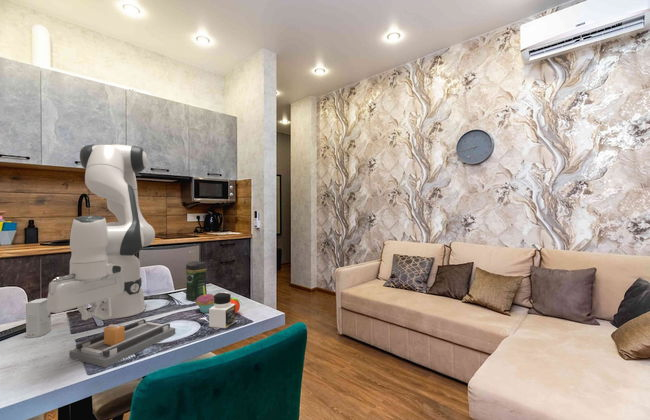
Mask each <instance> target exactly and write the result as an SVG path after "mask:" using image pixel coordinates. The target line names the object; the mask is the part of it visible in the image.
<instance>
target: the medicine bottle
mask: <svg viewBox="0 0 650 420" xmlns="http://www.w3.org/2000/svg"><path fill="white" fill-rule="evenodd" d="M213 295H214V306H213V307H211V308H210V309H209V312H208V317H209V319H208V320H209V321H208V324H209V325H208V327H210V328H216V329H217V328H218V329H227V328H228V327H230V326H231V325H233V324H234V323H235V322H236V314H235V304H230V303H231V298H232V296H231V293H230V292H227V291H221V292H218V293H216V294H213Z"/></svg>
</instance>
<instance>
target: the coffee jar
mask: <svg viewBox="0 0 650 420" xmlns="http://www.w3.org/2000/svg"><path fill="white" fill-rule="evenodd" d="M207 269H208V268H207V263H206V262H204V261H197V260H194V261H193V260H192V261H188V262H186V265H185V272H186V287H185V288H186V290H185V291H186V292H185V297H186V300H188V301H193V302H196V299H197V298H198V297H199V296H201V295H204V292H203V285H204V286H205V294H208V292H207V277H206V276H207V275H206V274H207Z"/></svg>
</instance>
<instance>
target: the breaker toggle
mask: <svg viewBox="0 0 650 420" xmlns="http://www.w3.org/2000/svg"><path fill="white" fill-rule="evenodd" d="M124 326H125V325H124ZM124 326H123V325H117V324H109V325H108V326H106V327H104V328H103V334H104V344H107V345H111V346H113V345H115V344H118V343H120V342H122V341H125V328H124Z"/></svg>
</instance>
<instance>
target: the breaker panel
mask: <svg viewBox="0 0 650 420" xmlns="http://www.w3.org/2000/svg"><path fill="white" fill-rule="evenodd" d="M163 325H164V324H162V323H155V322H151V321H147V322H146V323H144V321H142V322H139V323H138V326H137V327H134V328H131V329H129V330H126V331H125V341H122V342H120V343H118V344H115V345H113V346H111V345H107V344H104V340H101V341H99V342H96V343H94V344H91V345H90V342H87V343H85V344H82V348H81V349H76V348H74V349H72V350H69V356H68V357H69V359H73V360H75V361H80V362H83V363H87V364H90V365H94V366H98V367H102V368H107V367H110V366H112V365H114V364H115V363H116V364H117V363H118V362H119V361H122V360H124V359H126V358H129V357H130V355H131V356H133V355H135V354H137V353H139V352H140V351H143V350H145V349H148V348H149V347H151V346H153V345H155V344H157V343H160V342H161V341H163V340H165V339H167V338H170V337H172V336H174V335H175V334H176V328H175V327H171V326H170V328H168V325H167V326H165V327H163V331H161V332H159V333H156V334H154V335H152V336H150V337H148V338H145V339H143V340H141V341H139V342H136V343H134V344H132V345H130V346H128V347H125V348H123V349H121V350H119V351H117V348H115V349H113V350H110V351H109V355H108V356H103V351H105V350H107V349H110V348H112V347H114V346H117V345H119V344H121V343H124V342H126V341H128V340H131V339H133V338H135V337H138V336H140V335H142V334H144V333H147V332H149V331H151V330H154V329H156V328H158V327H161V326H163ZM85 341H86V340H85ZM85 341H83V342H85ZM80 343H81V342H79V343H78V344H80ZM128 356H129V357H128ZM123 358H124V359H123ZM121 359H122V360H121ZM113 363H114V364H113ZM111 364H112V365H111ZM109 365H110V366H109Z"/></svg>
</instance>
